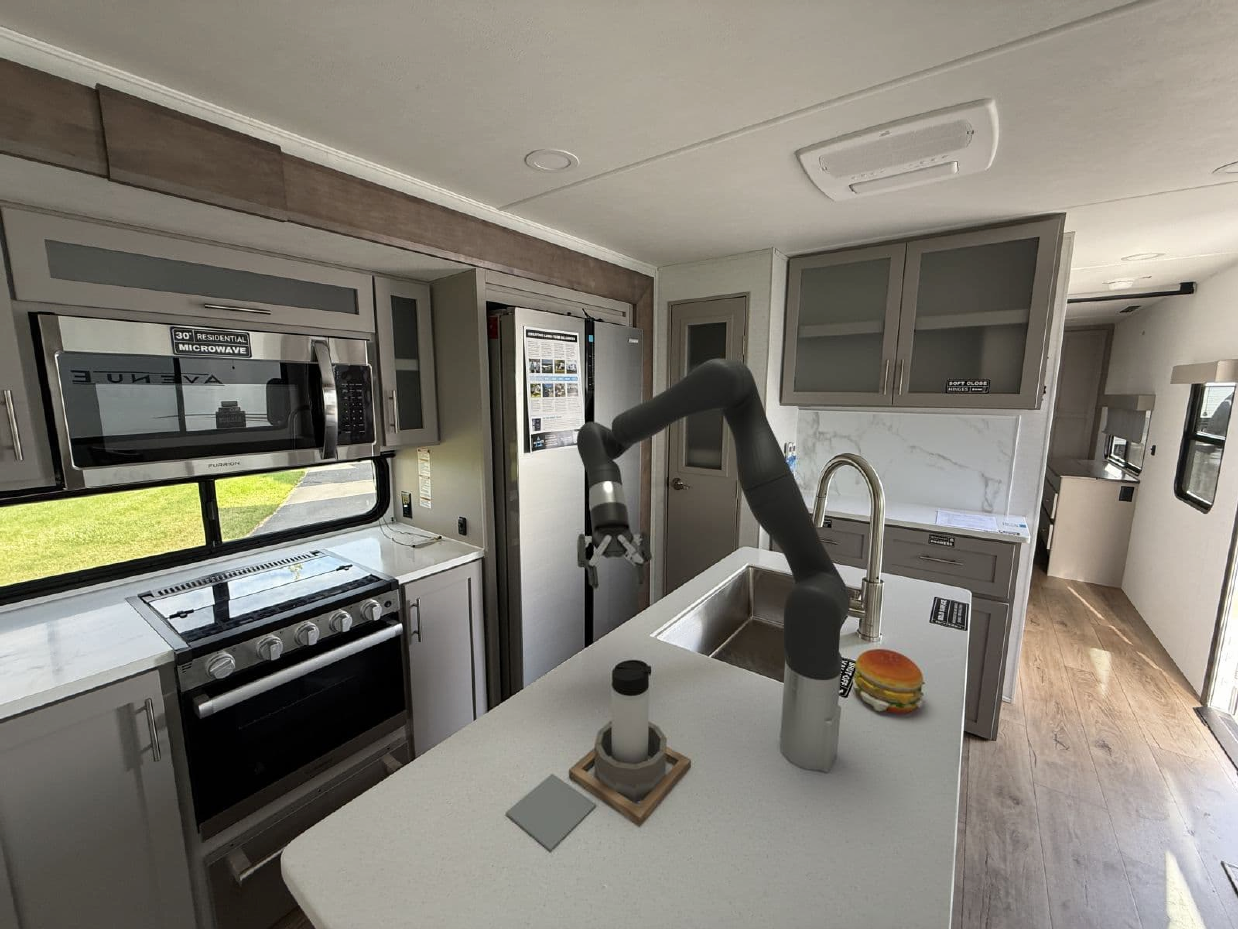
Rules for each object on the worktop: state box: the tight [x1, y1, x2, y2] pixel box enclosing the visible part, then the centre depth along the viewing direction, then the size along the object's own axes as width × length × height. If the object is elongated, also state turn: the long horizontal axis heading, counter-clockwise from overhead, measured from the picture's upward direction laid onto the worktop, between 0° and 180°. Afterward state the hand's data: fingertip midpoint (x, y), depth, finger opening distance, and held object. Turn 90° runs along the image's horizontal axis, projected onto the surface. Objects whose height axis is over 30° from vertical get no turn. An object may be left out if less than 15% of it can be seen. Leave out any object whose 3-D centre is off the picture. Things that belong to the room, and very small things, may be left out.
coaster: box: [505, 773, 597, 853], centre depth 79 cm, size 10×10×1 cm
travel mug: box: [611, 659, 652, 764], centre depth 85 cm, size 6×7×20 cm
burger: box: [852, 648, 926, 714], centre depth 106 cm, size 14×14×10 cm
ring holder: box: [568, 720, 692, 827], centre depth 87 cm, size 15×15×6 cm
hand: (618, 586), depth 95 cm, fingers open, 8 cm apart
